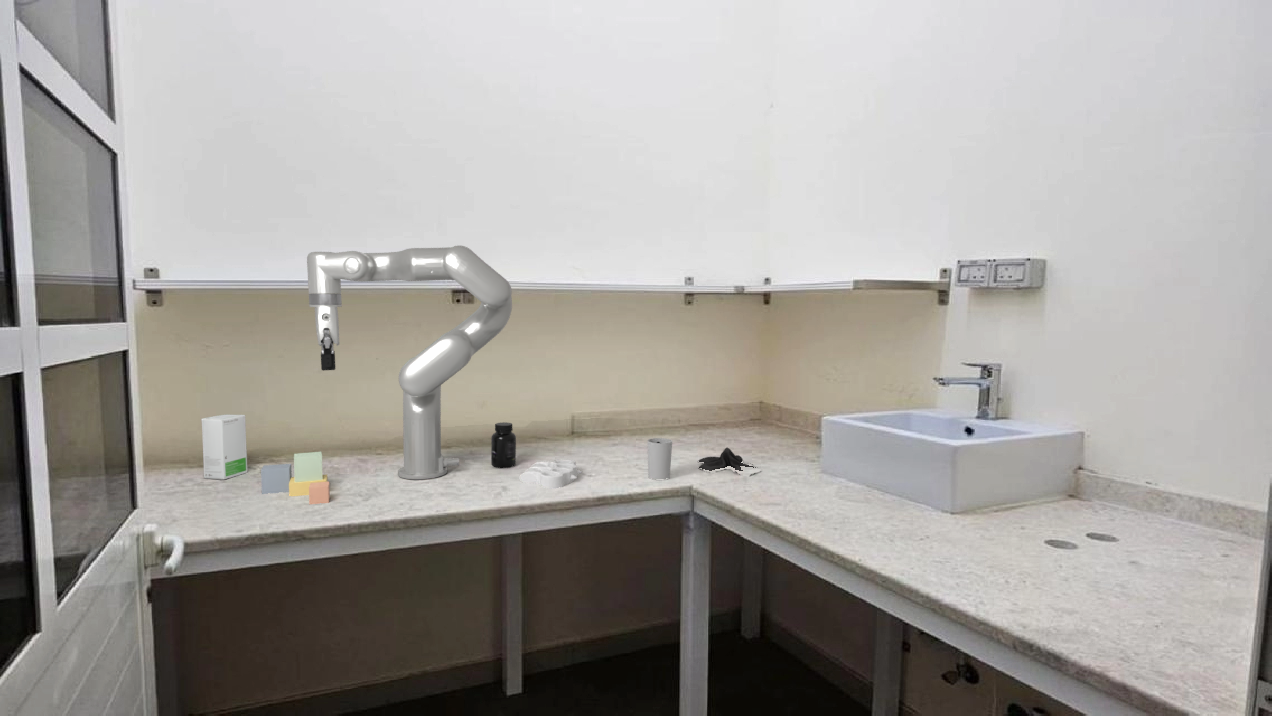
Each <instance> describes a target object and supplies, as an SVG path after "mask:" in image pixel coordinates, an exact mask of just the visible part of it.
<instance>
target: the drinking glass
mask: <svg viewBox="0 0 1272 716" xmlns="http://www.w3.org/2000/svg"><path fill="white" fill-rule="evenodd" d="M672 450H673V440H672V439H669V438H662V437H654V438H649V439H647V472H648V473H647V474H648V475H647V476H648V479H650V478H652V479H651V480H653V479H666V478H669V477H670V478H671V465H672V464H671V463H672ZM670 478H669V479H670Z"/></svg>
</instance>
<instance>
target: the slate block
mask: <svg viewBox="0 0 1272 716" xmlns="http://www.w3.org/2000/svg"><path fill="white" fill-rule="evenodd" d="M292 472H293V471H292V463H282V464H269V465H267V464H264V465H263V466H262V467H261V469H260V477H261V478H260V479H261V481H260V482H261V495H269V494H268V493H270V494H280V493H279V492H283V493H289V482H290V479H291V477H293V476H292V475H293V474H292Z"/></svg>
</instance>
